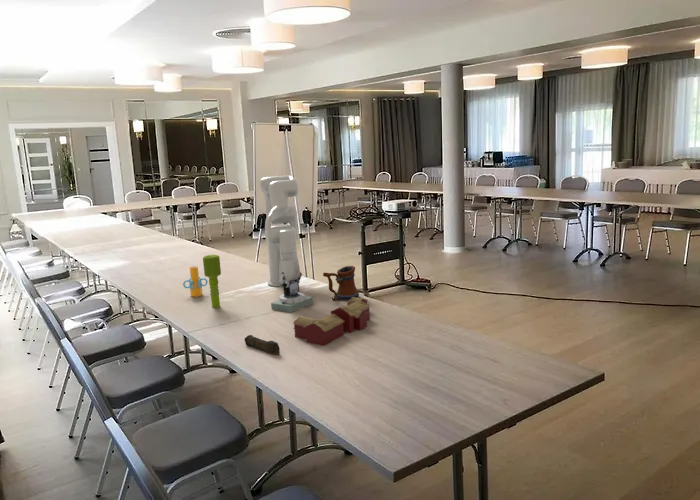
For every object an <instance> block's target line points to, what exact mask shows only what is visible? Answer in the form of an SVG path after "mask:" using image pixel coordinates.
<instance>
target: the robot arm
mask: <svg viewBox="0 0 700 500" xmlns="http://www.w3.org/2000/svg"><path fill="white" fill-rule="evenodd" d="M259 187H260V190H261V192H262V194H263V196H264V200H265V210H266V211H265V212H266V213H265V214H266V218H265V220H264V221H265V222H264V225H265V226H264V228H265V230H264V238H265V242H266V245H267V256H268V267H269V277H270V279H269V281H267V285H268V286H269V287H282V288H283V294H284V295H285V296H290V288H289V281H291V280H295V281H297V283H298V293H300V282H301V281H300V280H301V278H302V276H303V273H302V272H301V269H300V268H301V267H300V263H299V258H298V251H297V248H298V247H297V241H298V238H299V228H298V212H297V209H296V207H295V206H294V205H292V204H289V199H288V198H289V197H290V198H291V197H292V198H293V197H297V196H298V195H299V189H300V188H299V184H298V182H297V180H296V179H295V177H294V176H292V175H290V174H289V175H273V176H265V177H262V178H261V179H260V180H259ZM280 224H281V225H280ZM285 282H287V283H286V284H285Z"/></svg>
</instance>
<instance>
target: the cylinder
mask: <svg viewBox="0 0 700 500" xmlns="http://www.w3.org/2000/svg"><path fill="white" fill-rule="evenodd" d="M189 273H190V275H189V276H190V278H188V279H186V280H185V281H183V283H182V286H183V288H185V289H189V292H190V296H191V297H194V298H199V297H201V296H203V287H206V286H207V285H208V284H209V280H208V279H207V278H205V277H202V278H201V277H200V276H199V268H198V266H197V265H193V266H190V267H189ZM203 280H204V281H205V284H203V282H202V281H203ZM186 283H189V284H188V285H189V286H186Z"/></svg>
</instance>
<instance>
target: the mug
mask: <svg viewBox="0 0 700 500" xmlns="http://www.w3.org/2000/svg"><path fill="white" fill-rule="evenodd" d="M355 271H356V267H355V266H354V265H345V266H342V267H341V268H340V269H338V270H337V272H336V273H335V272H325V271H324V272H323V273H322V276H323V277H324V278H325V277H326V278H327V280H328V290H329V291H330V292H331V293H332V294H333V295H334V296H333V297H331V300H332V301H337V300H339V301H350V299H351V298H352V297H355V298H359V296H360V293H359V292H358V289H357V287H356V284H355V278H354V277H355ZM331 277H335V281H336V283H337V284H338V289H337V292H336V290H334V289H333V288H334V287H333V279H332V278H331Z"/></svg>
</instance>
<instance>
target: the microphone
mask: <svg viewBox="0 0 700 500" xmlns="http://www.w3.org/2000/svg"><path fill="white" fill-rule="evenodd" d="M220 259H221V258H220V255H218V254H207V255H205V256H203V257H202V262H203V272H204V273H203V274H204V277H206V278H208V279H209V280H208V284H209V292H210V293H209V295H210V299H211V301H210V302H211V308H214V309H217V308H219V307H220V308H221V305H220V304H221V303H220V302H221V301H220V290H219V280H218V277H219V276H221V274H222V272H221V271H222V270H221V260H220Z"/></svg>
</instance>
